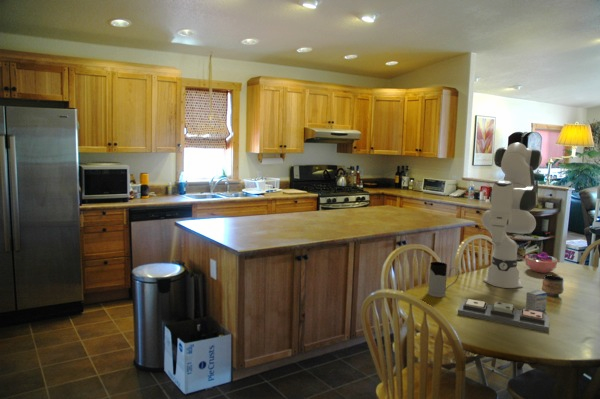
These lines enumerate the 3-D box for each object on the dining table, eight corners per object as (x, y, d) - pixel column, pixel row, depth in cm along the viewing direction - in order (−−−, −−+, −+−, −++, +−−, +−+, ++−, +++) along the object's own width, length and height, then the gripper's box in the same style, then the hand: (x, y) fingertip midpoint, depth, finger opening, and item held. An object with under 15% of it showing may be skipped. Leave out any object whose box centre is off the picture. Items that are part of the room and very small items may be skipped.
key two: (495, 305, 193) (495, 301, 192) (512, 309, 189) (513, 304, 189) (493, 310, 186) (493, 306, 186) (511, 314, 183) (512, 309, 183)
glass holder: (425, 290, 221) (427, 261, 219) (455, 292, 219) (457, 262, 217) (429, 296, 212) (431, 265, 210) (459, 298, 210) (462, 267, 209)
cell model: (518, 271, 259) (519, 252, 257) (531, 265, 272) (533, 247, 271) (549, 278, 246) (551, 258, 245) (561, 271, 260) (563, 253, 259)
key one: (468, 303, 198) (468, 298, 198) (485, 306, 195) (485, 301, 194) (465, 308, 192) (466, 303, 192) (482, 311, 188) (483, 306, 188)
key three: (523, 313, 187) (523, 308, 187) (541, 316, 184) (542, 311, 184) (522, 318, 181) (522, 313, 181) (541, 322, 178) (542, 317, 178)
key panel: (463, 304, 202) (463, 296, 202) (548, 320, 186) (549, 312, 186) (457, 314, 190) (458, 306, 190) (548, 332, 174) (549, 323, 174)
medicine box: (534, 314, 193) (536, 295, 192) (524, 310, 197) (526, 291, 195) (545, 311, 196) (547, 292, 195) (536, 308, 200) (538, 289, 199)
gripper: (495, 213, 204) (493, 243, 206) (489, 221, 186) (487, 253, 188) (510, 215, 201) (507, 244, 203) (506, 223, 183) (503, 255, 185)
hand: (498, 249), depth 195 cm, fingers closed
